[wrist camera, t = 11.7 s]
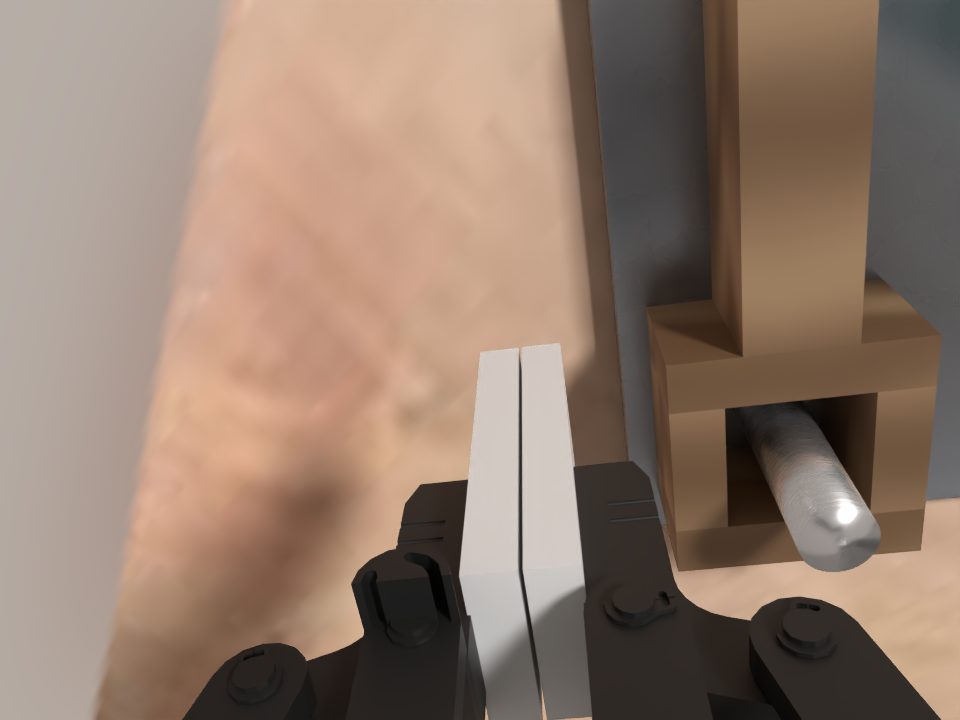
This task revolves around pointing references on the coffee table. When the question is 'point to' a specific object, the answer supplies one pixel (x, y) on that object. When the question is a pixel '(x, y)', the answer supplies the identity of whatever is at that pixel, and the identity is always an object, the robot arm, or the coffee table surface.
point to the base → (687, 251)
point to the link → (789, 291)
